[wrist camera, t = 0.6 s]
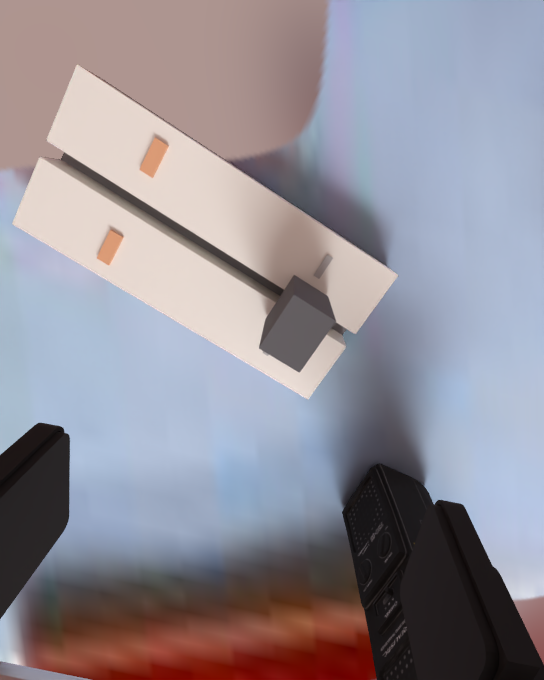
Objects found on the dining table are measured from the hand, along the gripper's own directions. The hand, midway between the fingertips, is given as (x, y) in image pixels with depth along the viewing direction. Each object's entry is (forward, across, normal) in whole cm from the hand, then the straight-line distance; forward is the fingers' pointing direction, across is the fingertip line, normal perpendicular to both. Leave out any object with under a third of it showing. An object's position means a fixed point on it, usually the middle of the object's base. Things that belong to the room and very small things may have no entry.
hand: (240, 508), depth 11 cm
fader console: (+27, +7, -2) cm, 28 cm away
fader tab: (+26, -1, +1) cm, 26 cm away
